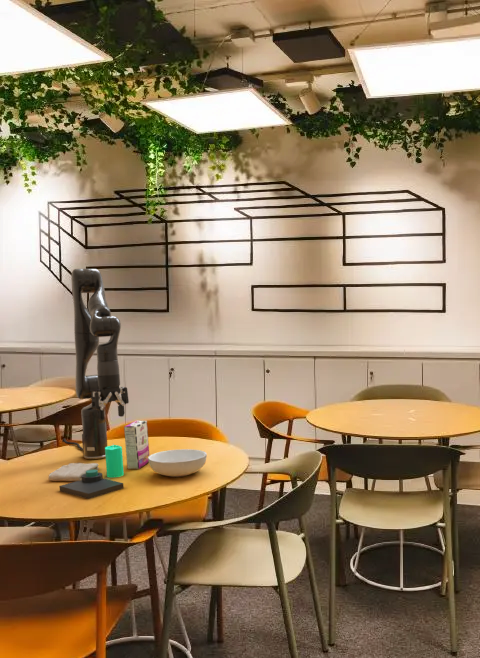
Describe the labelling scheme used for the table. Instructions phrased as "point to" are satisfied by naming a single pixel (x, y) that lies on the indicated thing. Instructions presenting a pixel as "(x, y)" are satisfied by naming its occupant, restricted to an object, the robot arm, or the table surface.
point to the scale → (91, 486)
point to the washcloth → (72, 472)
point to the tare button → (91, 473)
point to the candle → (114, 461)
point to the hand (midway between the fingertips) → (111, 418)
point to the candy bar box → (136, 444)
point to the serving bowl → (177, 462)
